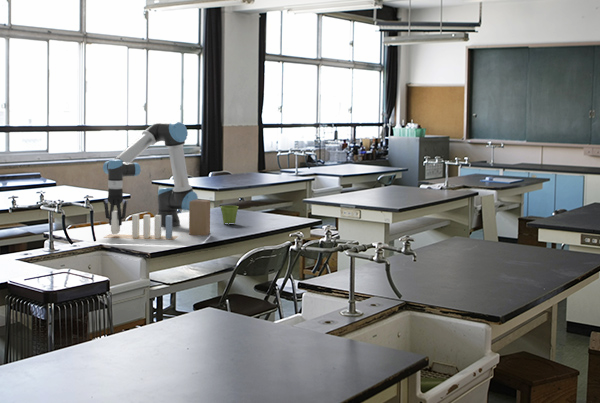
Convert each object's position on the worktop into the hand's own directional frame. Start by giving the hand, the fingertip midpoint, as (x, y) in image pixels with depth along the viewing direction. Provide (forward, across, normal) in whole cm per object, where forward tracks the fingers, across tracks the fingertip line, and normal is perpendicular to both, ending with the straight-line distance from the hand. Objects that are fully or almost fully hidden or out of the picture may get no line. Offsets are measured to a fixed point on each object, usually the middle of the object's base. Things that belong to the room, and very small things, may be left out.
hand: (115, 231), depth 367 cm
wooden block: (+4, +43, +16) cm, 46 cm away
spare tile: (+1, 0, 0) cm, 1 cm away
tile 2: (+3, +11, 0) cm, 11 cm away
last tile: (+3, +29, 0) cm, 29 cm away
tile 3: (+3, +17, 0) cm, 17 cm away
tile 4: (+3, +23, 0) cm, 23 cm away
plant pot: (+4, +54, +62) cm, 82 cm away
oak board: (+4, +14, 0) cm, 14 cm away
